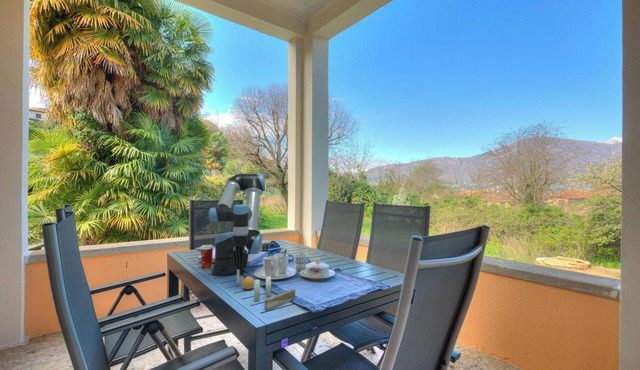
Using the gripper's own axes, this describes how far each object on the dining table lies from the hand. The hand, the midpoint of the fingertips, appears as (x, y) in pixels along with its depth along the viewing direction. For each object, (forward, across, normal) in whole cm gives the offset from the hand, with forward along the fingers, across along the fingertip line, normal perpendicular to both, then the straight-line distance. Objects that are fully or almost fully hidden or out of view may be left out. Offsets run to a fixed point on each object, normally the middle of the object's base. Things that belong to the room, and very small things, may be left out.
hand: (240, 281), depth 143 cm
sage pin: (+3, +21, -5) cm, 21 cm away
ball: (0, +6, +1) cm, 6 cm away
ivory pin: (+3, +20, +2) cm, 21 cm away
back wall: (+4, +31, 0) cm, 31 cm away
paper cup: (+2, -44, +5) cm, 44 cm away
